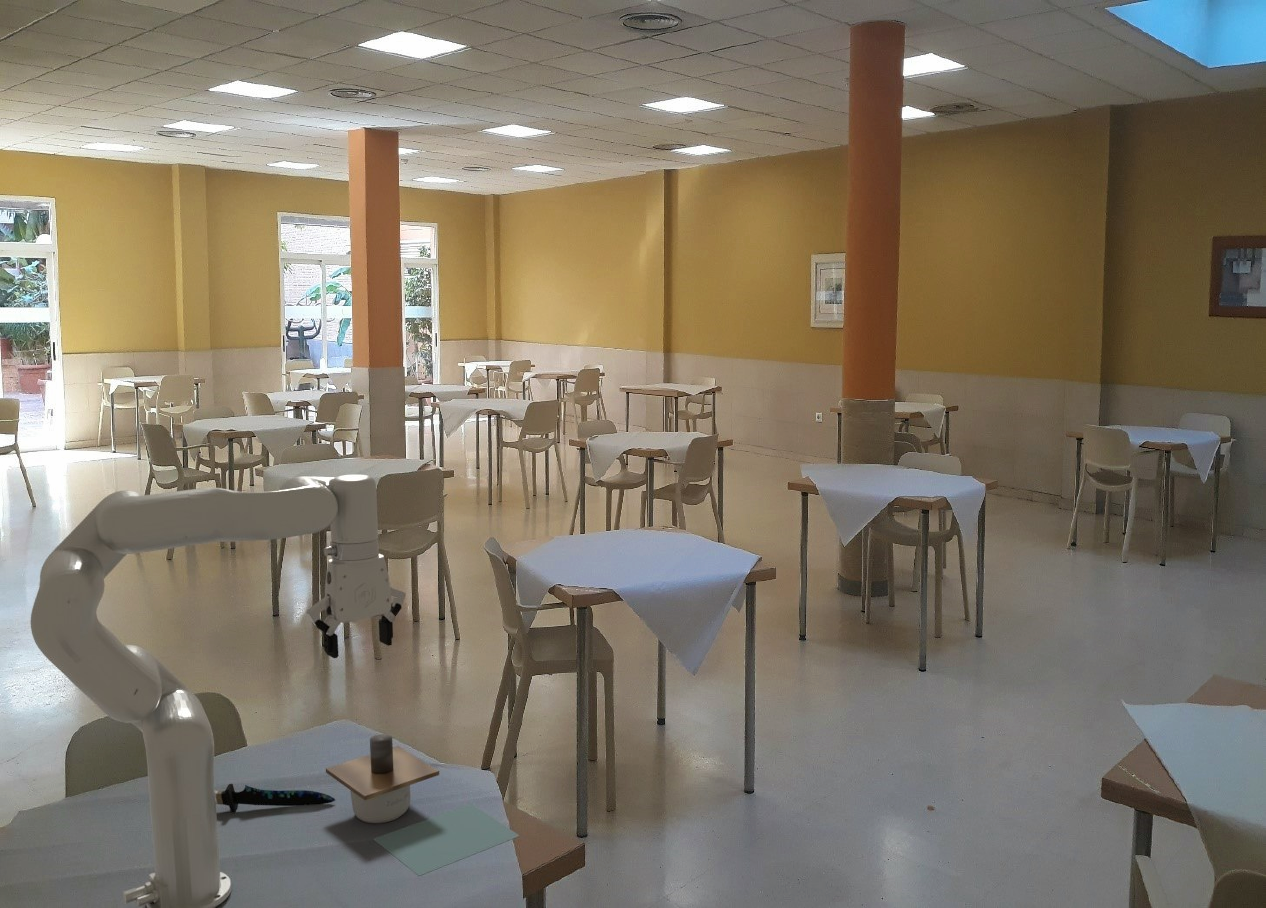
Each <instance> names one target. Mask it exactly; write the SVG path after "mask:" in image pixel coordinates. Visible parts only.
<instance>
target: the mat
mask: <svg viewBox="0 0 1266 908" xmlns="http://www.w3.org/2000/svg"><path fill="white" fill-rule="evenodd" d="M520 836H521V835H520V834H518V833H517V832H515V831H514V830H512V829H510V828H509V827H507V826H506V825H505V824H503V823H501V822H500V821H499V820H497V819H495V818H493V817H492V816H490V815H489V814H488V813H486V812H484V811H483V810H482V809H480V808H479V807H477V806H476V805H474V804H472V803H469V804H466V805H463V806H460V807H457V808H455V809H452V810H449V811H447V812H443V813H440V814H437V815H436V816H435V815H434V816H432V817H429V818H427V819H424V820H422V821H419V822H416V823H413V824H411V825H407V826H405V827H403V828H399V829H397V830H393V831H390V832H388V833H385V834H383V835H379V836H376V837H375V838H372V840H374V841H375V842H376V843H377V844H378V845H380V846H381V847H382V848H384V849H385V850H386V851H388V853H390V854H391V855H392V856H393V857H395V858H396V859H397V860H398V861H400V862H401V863H402V864H403V865H404V866H405V867H407V868H408V869H409V870H410V871H412V873H415V874H416V875H417V876H418V877H420V876H423V875H425V874H429V873H430V872H433V871H435V870H438V869H440V868H443V867H446V866H448V865H450V864H453V863H456V862H458V861H461V860H463V859H465V858H468V857H471V856H473V855H477V854H479V853H481V852H483V851H486V850H488V849H491V848H493V847H496V846H498V845H502V844H503V843H505V842H508V841H511V840H514V839H516V838H518V837H520Z"/></svg>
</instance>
